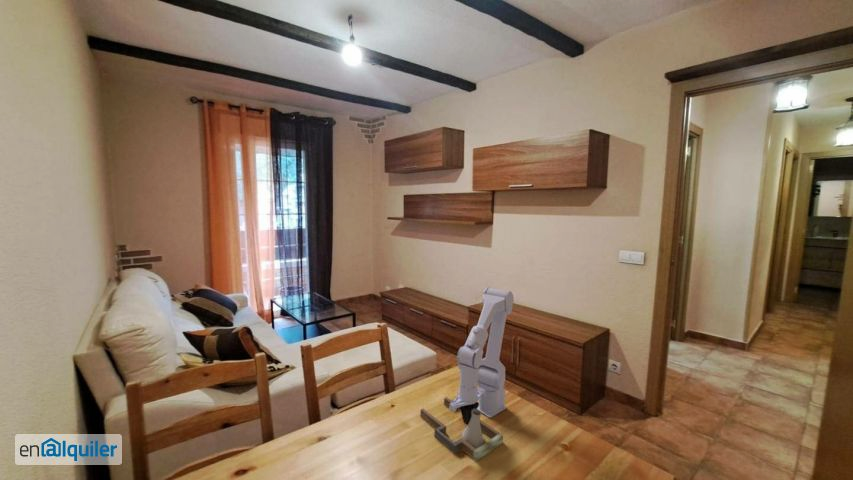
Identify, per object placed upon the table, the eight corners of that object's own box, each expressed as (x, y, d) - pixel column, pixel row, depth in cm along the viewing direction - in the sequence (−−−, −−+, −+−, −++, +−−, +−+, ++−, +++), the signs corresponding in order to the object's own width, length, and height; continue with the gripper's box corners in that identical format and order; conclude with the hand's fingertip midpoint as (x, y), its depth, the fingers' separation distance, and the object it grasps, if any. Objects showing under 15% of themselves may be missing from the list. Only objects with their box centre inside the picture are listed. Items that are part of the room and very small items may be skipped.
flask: (480, 452, 104) (484, 424, 102) (457, 442, 107) (461, 414, 104) (486, 436, 110) (490, 409, 108) (464, 427, 113) (468, 401, 111)
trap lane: (451, 400, 130) (451, 394, 129) (508, 438, 110) (508, 431, 109) (414, 419, 118) (414, 412, 118) (469, 465, 98) (469, 457, 98)
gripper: (474, 371, 117) (473, 408, 118) (443, 385, 108) (442, 425, 109) (490, 380, 111) (489, 419, 113) (459, 395, 102) (457, 437, 104)
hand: (467, 423), depth 111 cm, fingers closed, pressing on flask
